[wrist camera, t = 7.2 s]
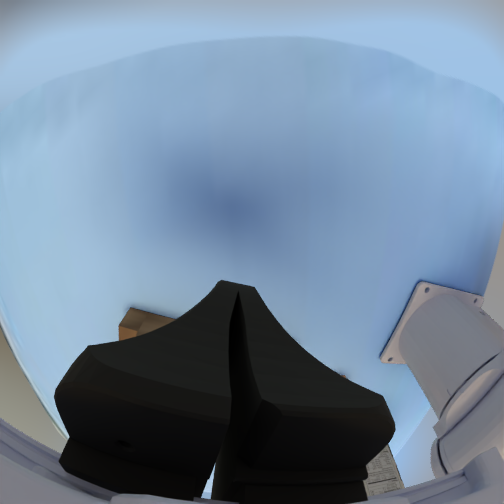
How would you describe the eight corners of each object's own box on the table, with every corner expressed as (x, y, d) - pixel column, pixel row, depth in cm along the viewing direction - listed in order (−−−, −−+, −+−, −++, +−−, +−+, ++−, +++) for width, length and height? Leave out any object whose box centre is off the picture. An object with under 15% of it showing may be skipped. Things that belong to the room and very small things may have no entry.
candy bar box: (342, 459, 29) (363, 558, 14) (308, 462, 29) (322, 567, 13) (380, 412, 25) (423, 534, 10) (340, 414, 25) (374, 552, 10)
